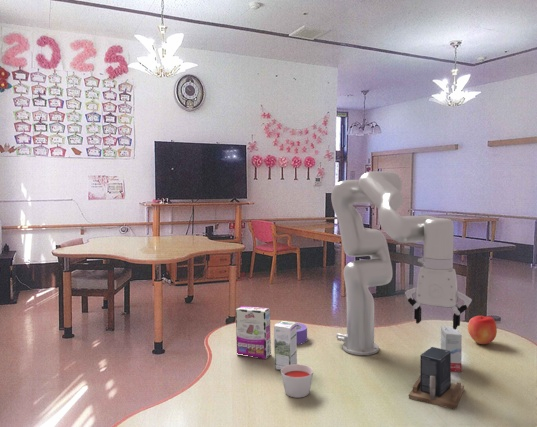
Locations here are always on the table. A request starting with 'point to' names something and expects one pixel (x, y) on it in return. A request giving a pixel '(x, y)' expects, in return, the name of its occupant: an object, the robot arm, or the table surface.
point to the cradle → (446, 400)
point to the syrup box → (285, 344)
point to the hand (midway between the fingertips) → (436, 325)
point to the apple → (482, 329)
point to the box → (435, 370)
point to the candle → (297, 380)
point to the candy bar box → (253, 331)
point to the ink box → (452, 346)
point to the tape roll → (301, 333)
